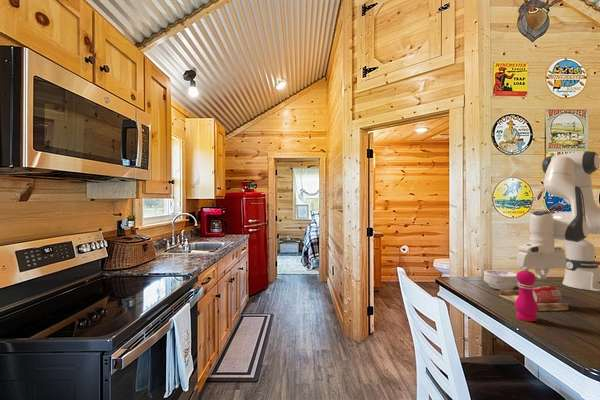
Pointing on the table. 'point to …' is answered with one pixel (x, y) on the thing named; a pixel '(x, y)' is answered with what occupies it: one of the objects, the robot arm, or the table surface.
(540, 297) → the soda can
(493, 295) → the table surface
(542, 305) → the board
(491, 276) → the paper bowls
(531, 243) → the robot arm
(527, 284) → the pepper mill
